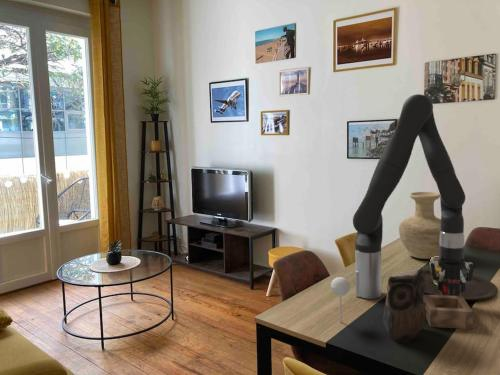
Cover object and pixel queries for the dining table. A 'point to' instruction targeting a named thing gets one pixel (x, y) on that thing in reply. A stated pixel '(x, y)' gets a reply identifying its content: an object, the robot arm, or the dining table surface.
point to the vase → (422, 227)
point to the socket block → (448, 311)
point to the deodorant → (451, 279)
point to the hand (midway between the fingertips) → (450, 291)
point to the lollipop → (340, 288)
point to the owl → (405, 305)
